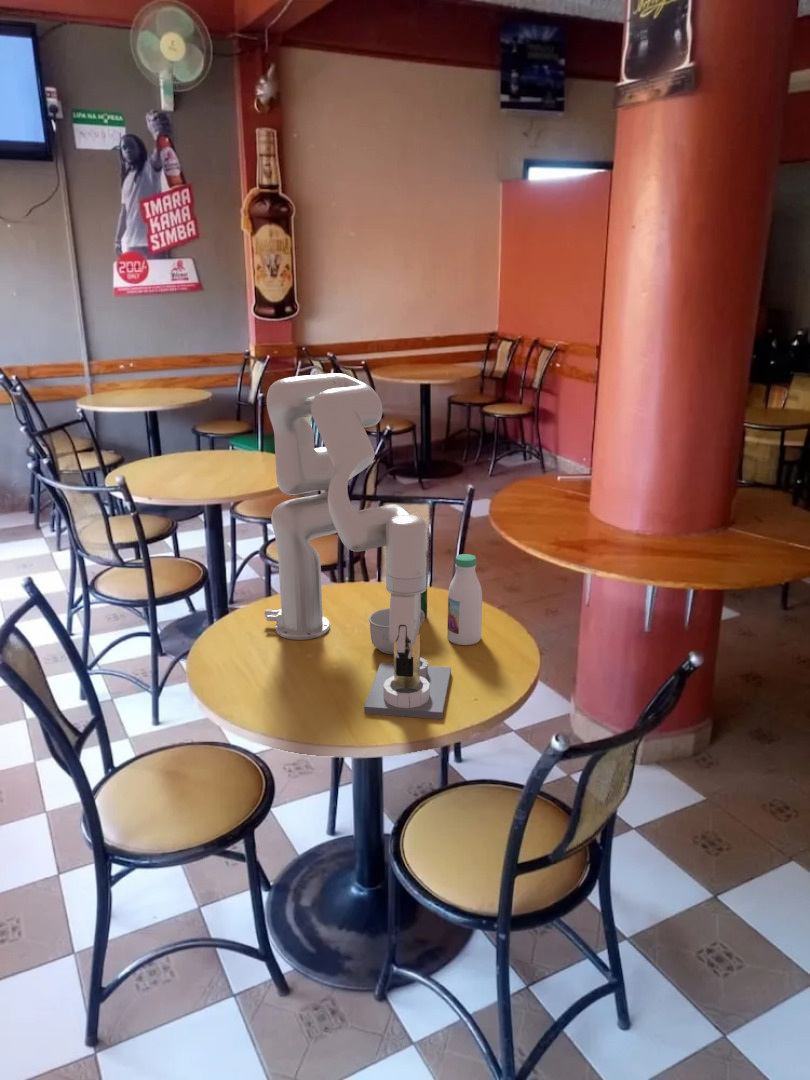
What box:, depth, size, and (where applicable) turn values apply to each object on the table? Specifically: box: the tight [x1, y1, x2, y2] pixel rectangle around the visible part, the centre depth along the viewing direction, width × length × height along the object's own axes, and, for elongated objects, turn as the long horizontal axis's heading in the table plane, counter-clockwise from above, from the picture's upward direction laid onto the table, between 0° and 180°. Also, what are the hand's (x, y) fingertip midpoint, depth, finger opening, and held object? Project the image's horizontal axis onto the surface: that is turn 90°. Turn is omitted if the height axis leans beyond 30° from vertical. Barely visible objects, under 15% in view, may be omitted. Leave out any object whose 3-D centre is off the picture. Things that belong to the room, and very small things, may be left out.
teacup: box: [368, 607, 426, 655], centre depth 183 cm, size 14×11×8 cm
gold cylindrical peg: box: [393, 631, 421, 688], centre depth 157 cm, size 5×5×10 cm
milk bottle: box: [446, 553, 483, 646], centre depth 184 cm, size 8×8×20 cm
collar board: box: [363, 656, 452, 720], centre depth 164 cm, size 15×18×4 cm
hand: (406, 667), depth 158 cm, fingers closed on gold cylindrical peg, 5 cm apart
